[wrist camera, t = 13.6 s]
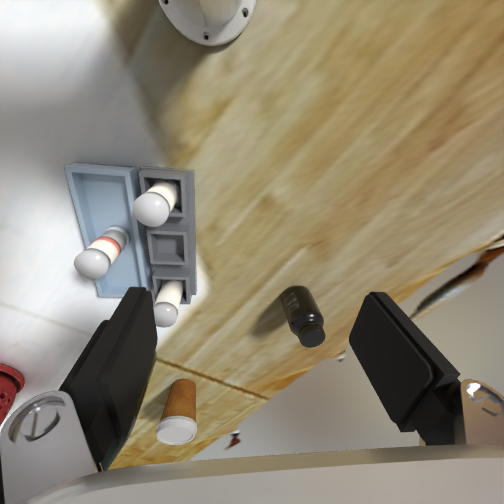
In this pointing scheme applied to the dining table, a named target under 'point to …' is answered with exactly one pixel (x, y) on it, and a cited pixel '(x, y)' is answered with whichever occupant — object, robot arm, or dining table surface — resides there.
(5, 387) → the plant pot
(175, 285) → the fuse
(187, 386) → the disposable coffee cup
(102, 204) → the parts tray
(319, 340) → the supplement bottle
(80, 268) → the cylinder
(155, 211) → the ball
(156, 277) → the fuse holder
